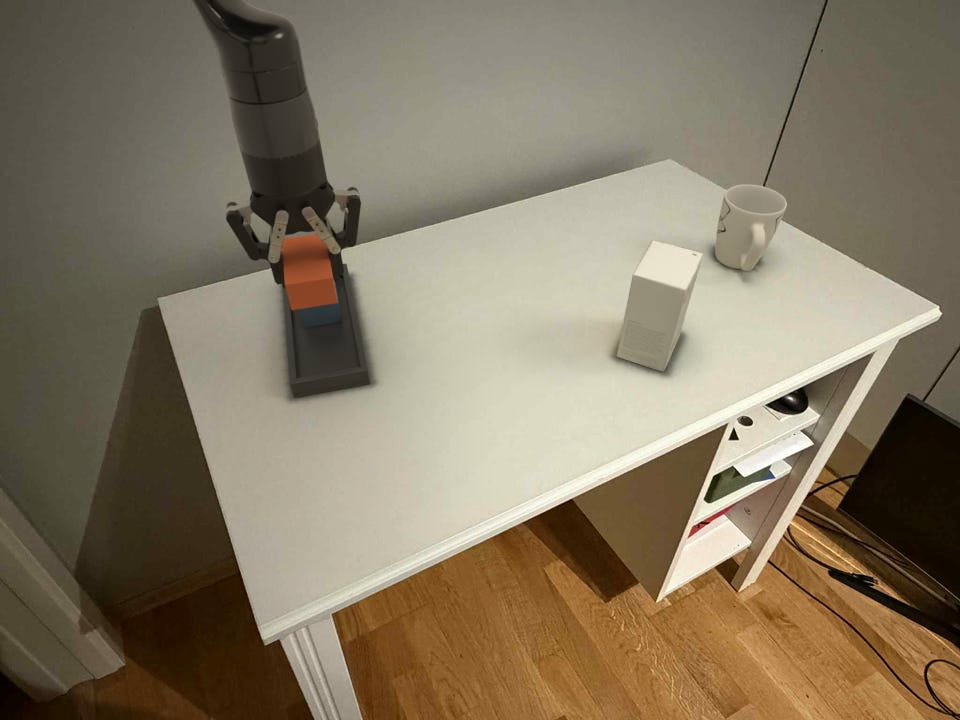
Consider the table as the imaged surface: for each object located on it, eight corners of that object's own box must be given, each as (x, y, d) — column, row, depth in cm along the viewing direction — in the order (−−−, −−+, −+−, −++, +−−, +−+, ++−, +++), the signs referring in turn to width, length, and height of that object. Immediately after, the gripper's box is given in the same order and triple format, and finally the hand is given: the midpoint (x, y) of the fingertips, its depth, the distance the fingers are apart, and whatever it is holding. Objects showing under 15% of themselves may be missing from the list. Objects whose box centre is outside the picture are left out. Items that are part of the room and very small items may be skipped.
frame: (370, 383, 77) (367, 369, 76) (293, 398, 76) (289, 383, 74) (348, 276, 93) (346, 263, 91) (285, 286, 91) (281, 272, 90)
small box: (634, 320, 86) (652, 238, 77) (680, 335, 84) (705, 252, 75) (614, 357, 81) (631, 273, 72) (663, 373, 79) (687, 289, 70)
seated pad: (342, 322, 85) (338, 301, 82) (303, 328, 84) (298, 307, 81) (335, 282, 91) (331, 262, 89) (299, 288, 90) (294, 267, 88)
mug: (774, 288, 91) (799, 228, 84) (714, 284, 92) (733, 224, 85) (758, 244, 99) (779, 185, 93) (703, 240, 100) (720, 182, 93)
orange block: (337, 303, 70) (332, 277, 68) (291, 310, 69) (284, 284, 67) (330, 257, 76) (325, 232, 74) (287, 263, 76) (281, 238, 73)
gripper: (198, 164, 57) (246, 311, 69) (358, 145, 60) (378, 290, 71) (202, 128, 62) (246, 271, 74) (349, 113, 65) (369, 253, 77)
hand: (311, 279), depth 73 cm, fingers closed on orange block, 5 cm apart
